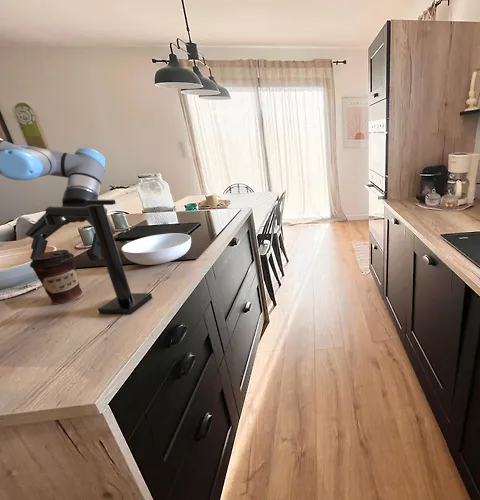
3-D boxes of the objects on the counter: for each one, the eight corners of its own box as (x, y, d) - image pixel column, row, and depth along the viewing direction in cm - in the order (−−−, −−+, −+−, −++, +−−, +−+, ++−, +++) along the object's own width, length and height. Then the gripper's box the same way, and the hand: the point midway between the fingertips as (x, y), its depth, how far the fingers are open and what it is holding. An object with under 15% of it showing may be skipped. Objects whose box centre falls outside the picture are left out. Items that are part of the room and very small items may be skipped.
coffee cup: (94, 295, 80) (78, 252, 75) (53, 310, 73) (33, 263, 68) (81, 288, 84) (65, 246, 79) (42, 301, 77) (22, 256, 72)
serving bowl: (153, 249, 114) (149, 232, 112) (205, 249, 113) (201, 233, 111) (110, 271, 95) (104, 251, 92) (172, 272, 94) (167, 252, 91)
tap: (66, 313, 71) (21, 203, 61) (94, 297, 79) (57, 196, 69) (132, 314, 71) (97, 203, 61) (154, 298, 78) (126, 196, 68)
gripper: (134, 199, 93) (125, 259, 84) (42, 203, 88) (22, 267, 79) (121, 184, 86) (109, 248, 78) (21, 188, 81) (-4, 256, 72)
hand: (65, 258), depth 78 cm, fingers open, 13 cm apart
